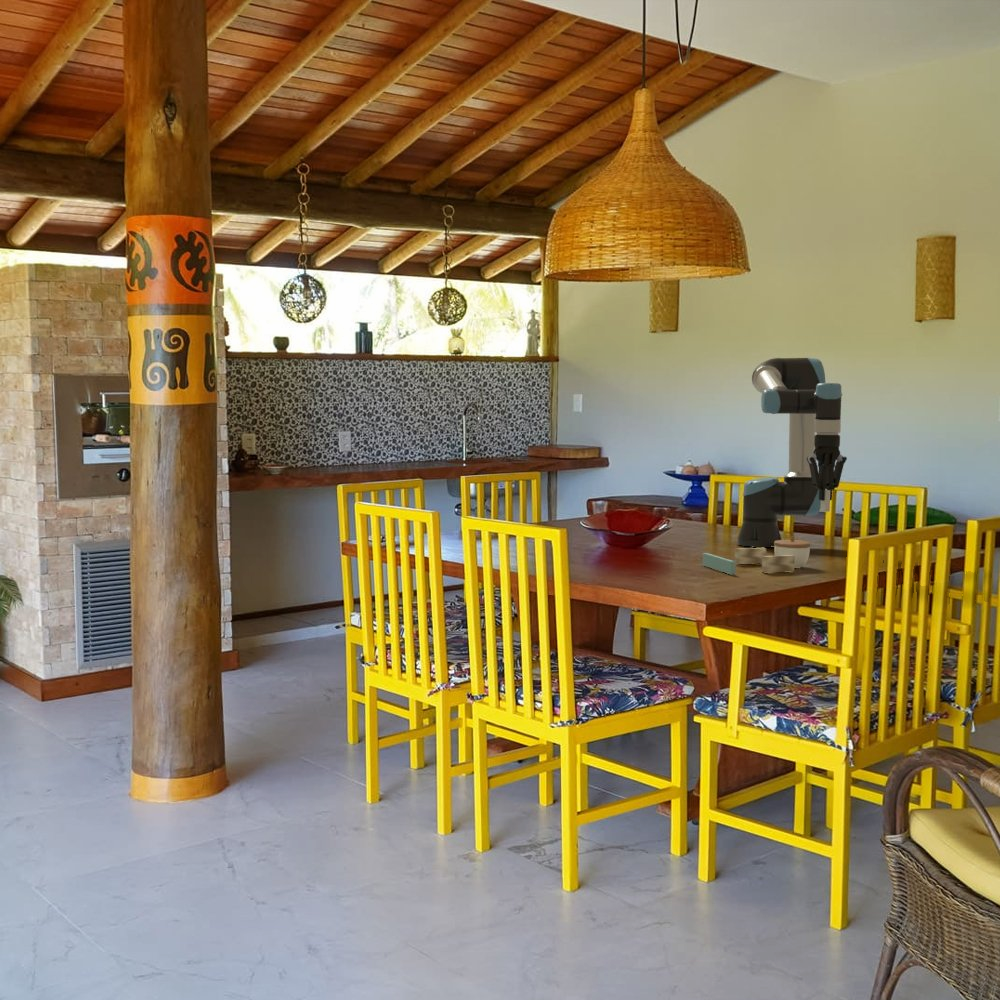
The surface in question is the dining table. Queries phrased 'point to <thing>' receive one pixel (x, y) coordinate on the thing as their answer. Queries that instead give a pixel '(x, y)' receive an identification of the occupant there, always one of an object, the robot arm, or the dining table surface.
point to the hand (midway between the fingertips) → (824, 511)
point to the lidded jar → (793, 550)
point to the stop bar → (718, 563)
